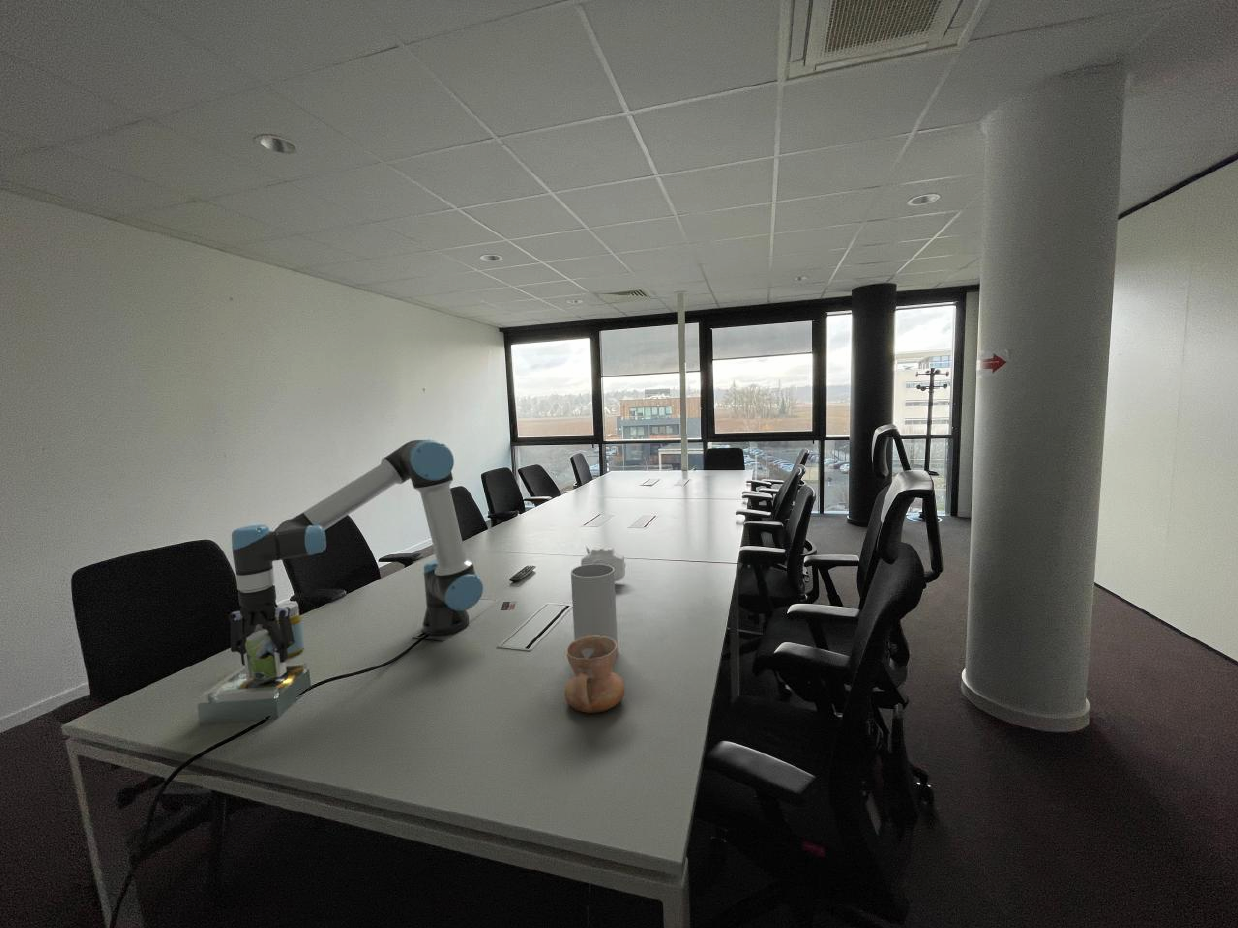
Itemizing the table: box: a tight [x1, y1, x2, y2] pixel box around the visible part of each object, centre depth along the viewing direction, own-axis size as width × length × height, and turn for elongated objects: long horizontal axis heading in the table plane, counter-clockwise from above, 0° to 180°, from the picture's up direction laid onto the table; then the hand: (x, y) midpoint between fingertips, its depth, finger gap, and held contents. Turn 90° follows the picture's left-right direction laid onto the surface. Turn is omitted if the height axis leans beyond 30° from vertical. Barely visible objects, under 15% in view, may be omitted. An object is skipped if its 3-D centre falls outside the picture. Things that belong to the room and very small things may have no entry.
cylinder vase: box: [570, 564, 619, 659], centre depth 143 cm, size 12×12×25 cm
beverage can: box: [245, 628, 277, 680], centre depth 125 cm, size 6×7×12 cm
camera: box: [580, 545, 626, 582], centre depth 203 cm, size 11×18×16 cm, turn 80°
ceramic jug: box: [564, 635, 626, 714], centre depth 118 cm, size 18×14×14 cm
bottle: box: [275, 602, 305, 658], centre depth 153 cm, size 7×7×15 cm
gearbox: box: [197, 662, 312, 725], centre depth 125 cm, size 18×14×7 cm
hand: (266, 675), depth 125 cm, fingers closed on beverage can, 7 cm apart
